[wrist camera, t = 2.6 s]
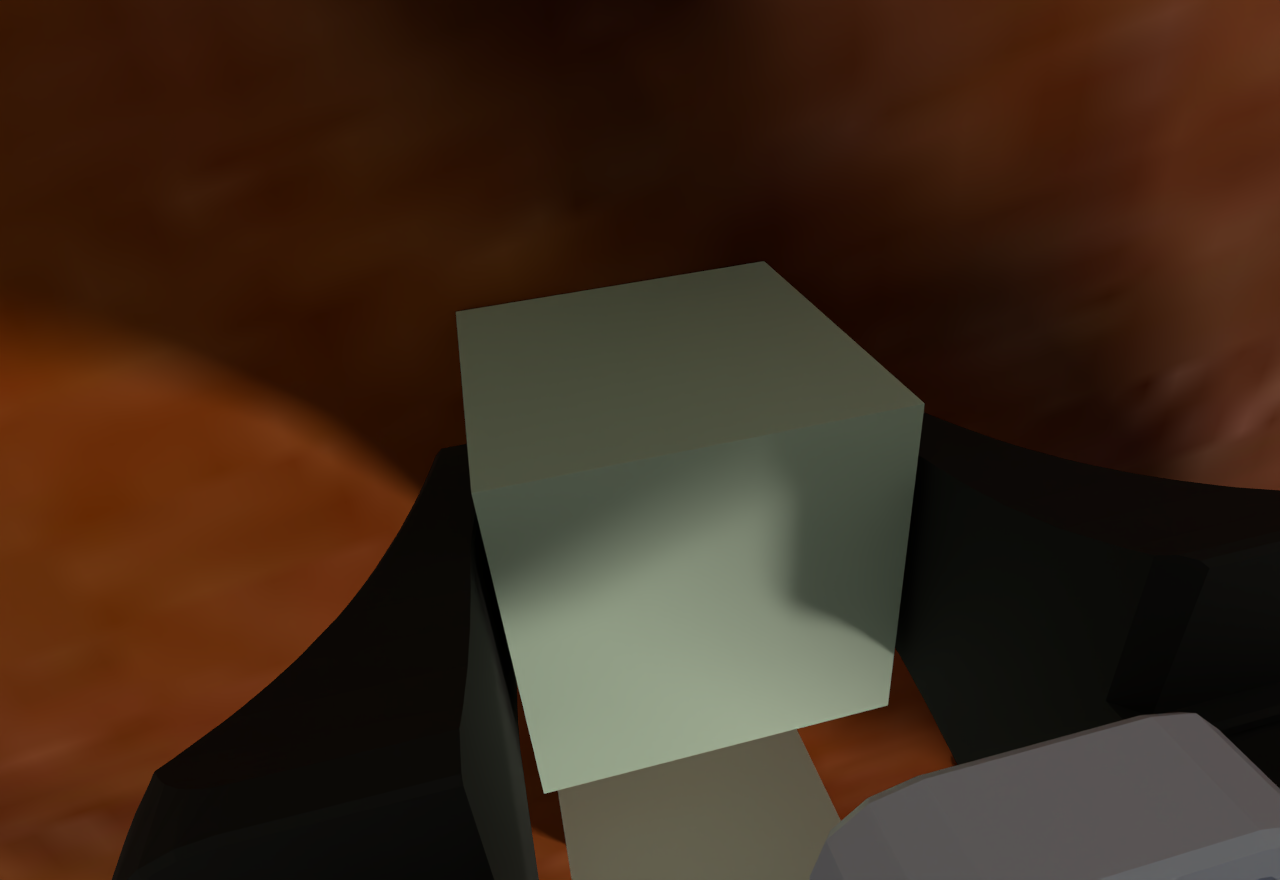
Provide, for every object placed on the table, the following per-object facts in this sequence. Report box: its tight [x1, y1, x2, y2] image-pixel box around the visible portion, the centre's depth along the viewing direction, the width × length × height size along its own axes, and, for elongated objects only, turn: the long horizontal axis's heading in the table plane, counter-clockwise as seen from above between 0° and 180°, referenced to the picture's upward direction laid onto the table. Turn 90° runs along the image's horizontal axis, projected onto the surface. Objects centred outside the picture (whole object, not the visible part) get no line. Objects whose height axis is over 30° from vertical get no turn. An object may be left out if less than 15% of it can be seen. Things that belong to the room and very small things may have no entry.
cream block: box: [558, 729, 841, 880], centre depth 17 cm, size 5×5×5 cm
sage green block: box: [456, 261, 925, 794], centre depth 12 cm, size 5×5×5 cm
